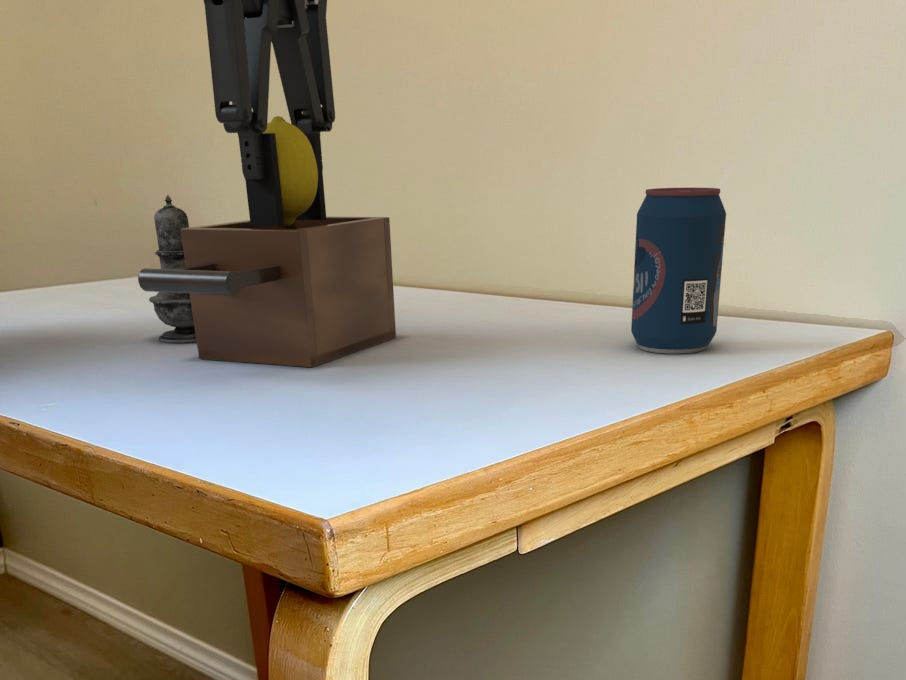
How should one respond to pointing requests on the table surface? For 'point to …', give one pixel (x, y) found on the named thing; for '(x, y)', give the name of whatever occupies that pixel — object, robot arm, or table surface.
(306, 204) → the lemon
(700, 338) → the soda can
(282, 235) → the wooden handled box
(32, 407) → the table surface
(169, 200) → the salt shaker
